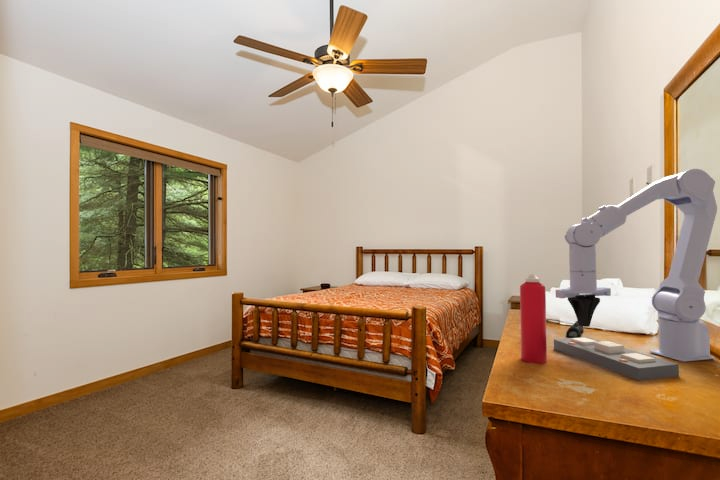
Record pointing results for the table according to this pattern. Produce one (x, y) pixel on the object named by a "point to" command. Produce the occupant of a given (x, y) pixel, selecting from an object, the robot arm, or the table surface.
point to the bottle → (533, 321)
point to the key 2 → (638, 358)
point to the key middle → (609, 347)
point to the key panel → (619, 361)
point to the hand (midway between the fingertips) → (584, 325)
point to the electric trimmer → (574, 331)
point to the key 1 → (583, 341)
